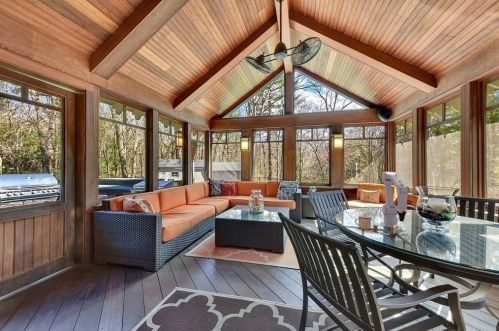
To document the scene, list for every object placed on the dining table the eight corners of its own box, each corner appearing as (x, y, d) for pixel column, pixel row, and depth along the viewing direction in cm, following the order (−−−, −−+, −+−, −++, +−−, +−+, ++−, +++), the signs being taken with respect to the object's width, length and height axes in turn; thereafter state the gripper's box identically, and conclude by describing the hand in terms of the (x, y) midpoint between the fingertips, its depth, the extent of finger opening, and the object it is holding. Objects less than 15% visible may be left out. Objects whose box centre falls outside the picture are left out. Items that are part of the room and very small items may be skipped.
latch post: (374, 230, 178) (374, 224, 178) (377, 231, 176) (377, 225, 176) (373, 231, 178) (373, 224, 177) (376, 232, 175) (376, 225, 175)
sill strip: (375, 230, 179) (375, 230, 179) (389, 234, 169) (389, 234, 169) (374, 230, 178) (374, 230, 178) (388, 235, 168) (388, 234, 168)
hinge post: (391, 235, 169) (391, 225, 168) (394, 236, 167) (394, 226, 167) (389, 235, 168) (389, 226, 168) (392, 236, 166) (392, 226, 166)
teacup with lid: (367, 226, 191) (367, 211, 190) (373, 229, 181) (373, 214, 181) (352, 226, 191) (352, 211, 190) (357, 229, 182) (357, 214, 181)
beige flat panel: (393, 234, 168) (393, 228, 168) (391, 234, 169) (391, 227, 169) (397, 231, 176) (397, 225, 176) (395, 230, 177) (395, 224, 177)
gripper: (397, 200, 179) (396, 218, 179) (394, 203, 167) (393, 222, 168) (408, 201, 174) (408, 220, 174) (406, 204, 163) (405, 224, 163)
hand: (401, 221), depth 171 cm, fingers closed
